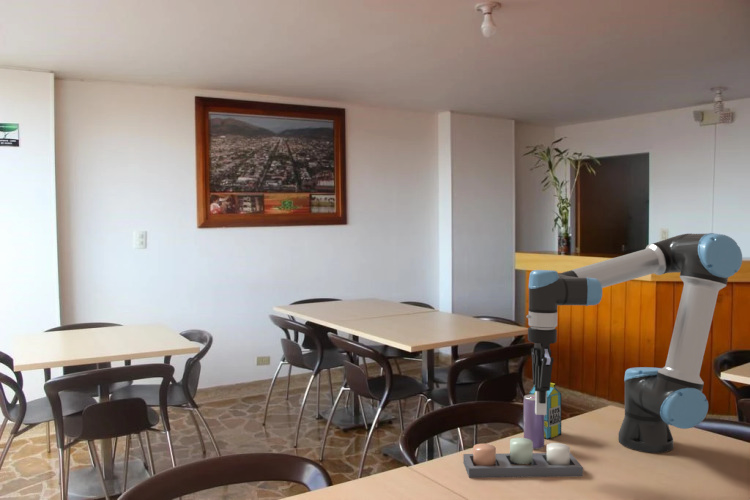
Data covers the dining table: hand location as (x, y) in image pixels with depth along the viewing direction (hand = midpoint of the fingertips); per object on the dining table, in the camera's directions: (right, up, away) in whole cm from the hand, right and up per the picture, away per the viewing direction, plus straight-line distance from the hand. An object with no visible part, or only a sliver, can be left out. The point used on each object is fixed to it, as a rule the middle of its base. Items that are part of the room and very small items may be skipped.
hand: (540, 413), depth 159 cm
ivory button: (+5, -14, +1) cm, 15 cm away
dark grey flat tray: (-5, -15, +1) cm, 16 cm away
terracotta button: (-15, -14, +1) cm, 21 cm away
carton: (+9, -15, +28) cm, 32 cm away
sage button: (-5, -13, +1) cm, 14 cm away
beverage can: (+3, -15, +18) cm, 23 cm away
